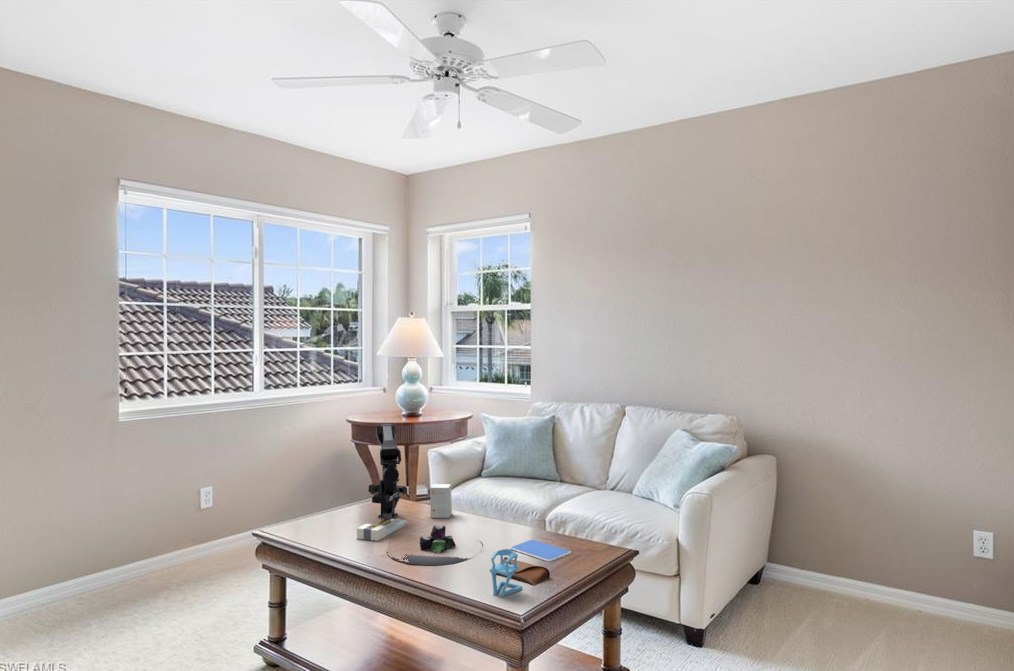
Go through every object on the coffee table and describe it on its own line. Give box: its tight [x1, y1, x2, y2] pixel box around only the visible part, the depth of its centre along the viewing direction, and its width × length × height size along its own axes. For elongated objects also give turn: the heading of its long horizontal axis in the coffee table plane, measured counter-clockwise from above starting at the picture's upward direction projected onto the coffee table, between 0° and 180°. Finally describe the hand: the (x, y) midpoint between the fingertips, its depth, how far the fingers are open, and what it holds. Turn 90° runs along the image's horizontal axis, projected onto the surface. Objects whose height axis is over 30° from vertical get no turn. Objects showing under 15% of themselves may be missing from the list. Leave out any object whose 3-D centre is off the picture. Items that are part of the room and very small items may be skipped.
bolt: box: [372, 512, 393, 528], centre depth 249 cm, size 10×3×4 cm, turn 160°
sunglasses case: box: [496, 556, 551, 586], centre depth 202 cm, size 18×7×7 cm
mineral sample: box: [386, 524, 484, 566], centre depth 228 cm, size 35×35×9 cm
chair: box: [489, 548, 523, 598], centre depth 189 cm, size 8×8×12 cm
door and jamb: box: [356, 517, 408, 542], centre depth 249 cm, size 22×9×4 cm, turn 160°
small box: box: [429, 483, 453, 519], centre depth 270 cm, size 8×6×13 cm
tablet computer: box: [509, 539, 572, 563], centre depth 224 cm, size 19×13×1 cm, turn 45°
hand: (390, 515), depth 255 cm, fingers closed
